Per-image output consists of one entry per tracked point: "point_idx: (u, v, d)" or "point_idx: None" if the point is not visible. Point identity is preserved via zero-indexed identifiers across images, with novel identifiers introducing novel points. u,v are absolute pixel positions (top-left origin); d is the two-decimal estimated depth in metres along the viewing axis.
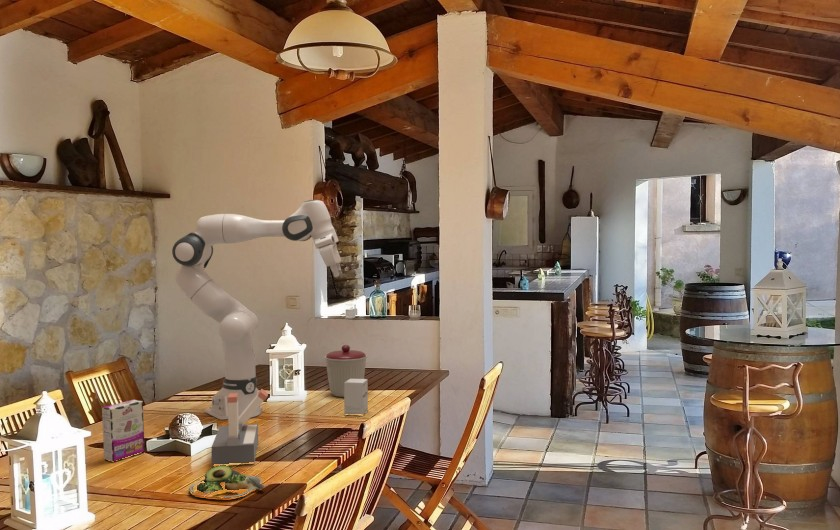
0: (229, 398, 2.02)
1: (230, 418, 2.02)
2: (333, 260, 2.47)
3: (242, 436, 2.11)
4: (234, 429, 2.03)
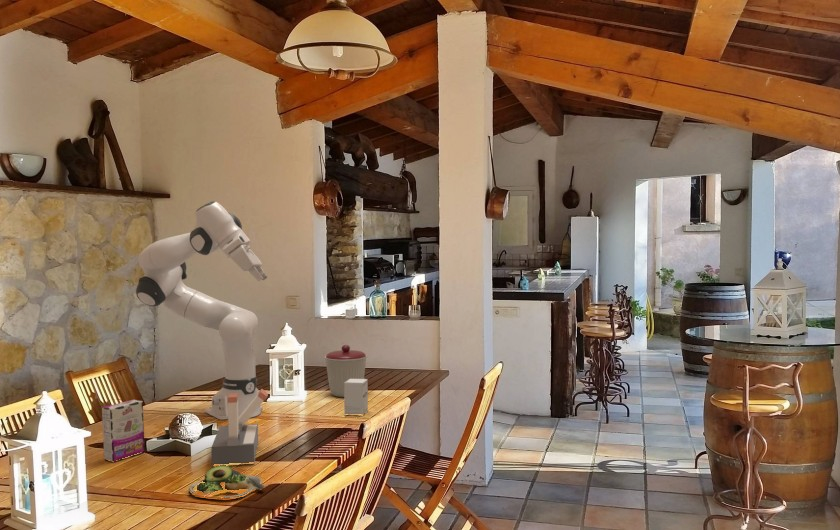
0: (229, 398, 2.02)
1: (230, 418, 2.02)
2: (249, 261, 2.09)
3: (242, 436, 2.11)
4: (234, 429, 2.03)
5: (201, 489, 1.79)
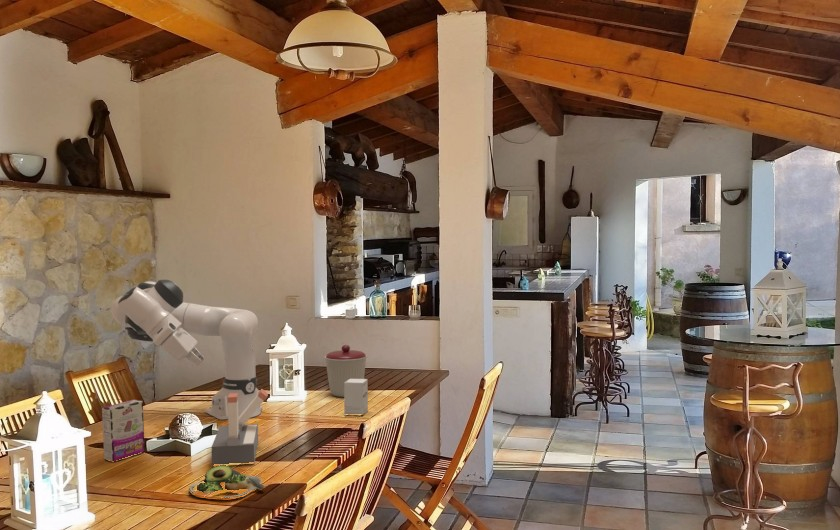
0: (229, 398, 2.02)
1: (230, 418, 2.02)
2: (184, 350, 1.97)
3: (242, 436, 2.11)
4: (234, 429, 2.03)
5: (201, 489, 1.79)
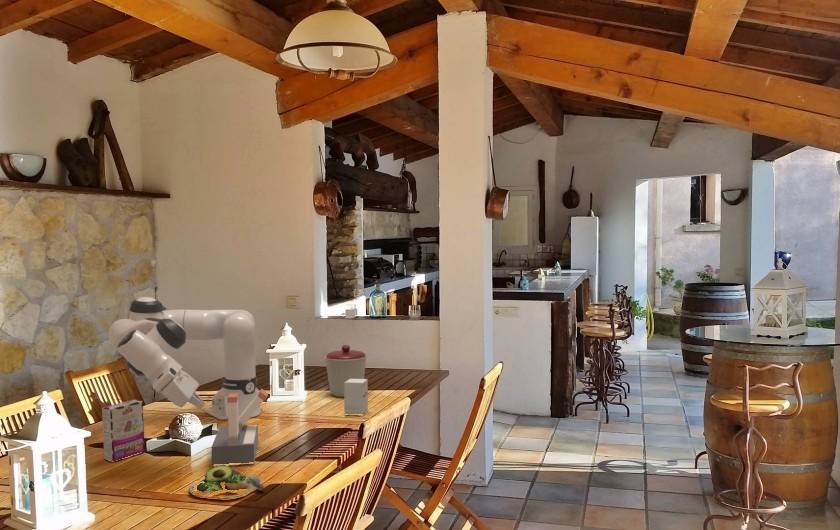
0: (229, 398, 2.02)
1: (230, 418, 2.02)
2: (185, 397, 1.92)
3: (242, 436, 2.11)
4: (234, 429, 2.03)
5: (201, 489, 1.79)
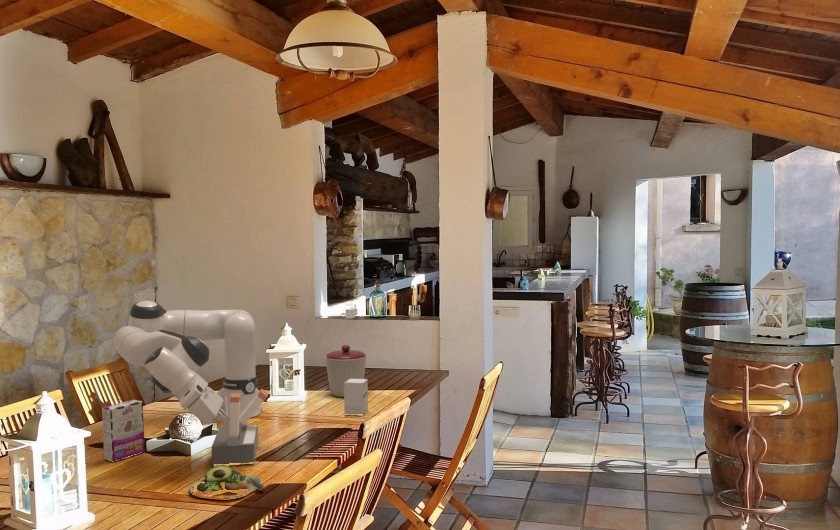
0: (231, 398, 2.02)
1: (231, 417, 2.02)
2: (212, 414, 1.94)
3: (242, 436, 2.11)
4: (235, 429, 2.03)
5: (201, 489, 1.79)
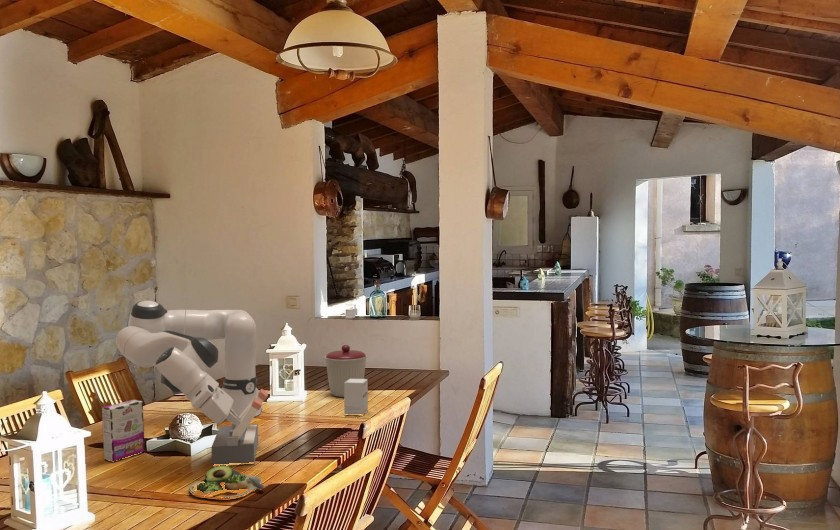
0: (255, 403, 2.03)
1: (244, 419, 2.03)
2: (223, 414, 1.94)
3: (242, 436, 2.11)
4: (241, 432, 2.03)
5: (201, 489, 1.79)
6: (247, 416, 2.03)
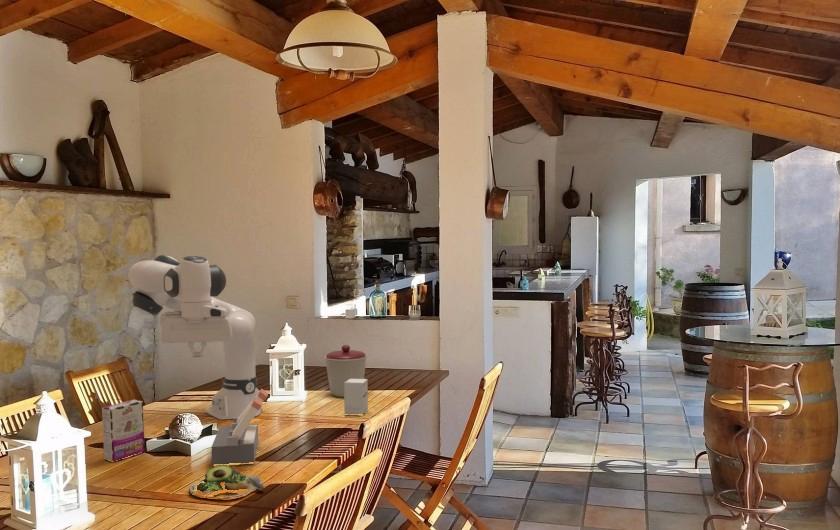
0: (255, 403, 2.03)
1: (244, 419, 2.03)
2: None
3: (242, 436, 2.11)
4: (241, 432, 2.03)
5: (201, 489, 1.79)
6: (247, 416, 2.03)
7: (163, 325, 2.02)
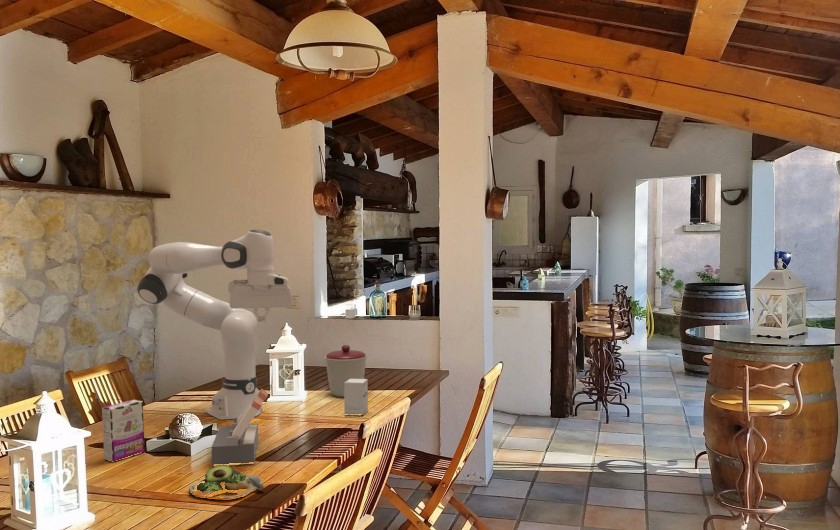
0: (255, 403, 2.03)
1: (244, 419, 2.03)
2: None
3: (242, 436, 2.11)
4: (241, 432, 2.03)
5: (201, 489, 1.79)
6: (247, 416, 2.03)
7: (231, 292, 2.23)
